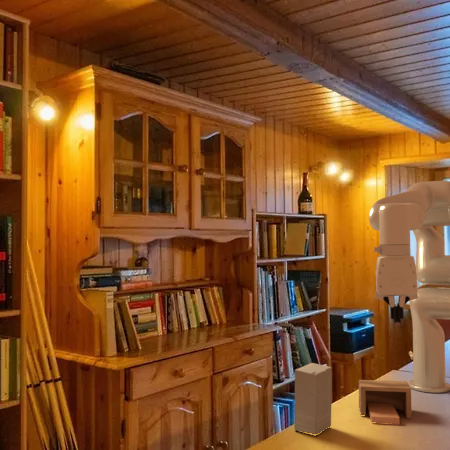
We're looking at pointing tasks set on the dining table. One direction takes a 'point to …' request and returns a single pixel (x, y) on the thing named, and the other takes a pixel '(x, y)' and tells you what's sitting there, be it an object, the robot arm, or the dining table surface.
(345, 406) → the dining table surface
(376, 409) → the terracotta tile
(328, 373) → the skincare box
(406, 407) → the tan open box
